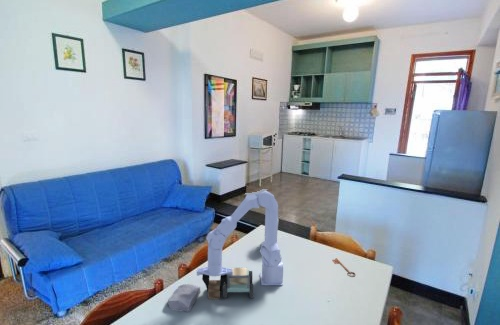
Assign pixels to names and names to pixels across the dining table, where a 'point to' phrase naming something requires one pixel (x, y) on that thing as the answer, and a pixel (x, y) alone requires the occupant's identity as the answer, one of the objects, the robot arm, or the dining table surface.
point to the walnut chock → (214, 289)
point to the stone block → (184, 297)
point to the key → (343, 266)
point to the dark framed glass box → (239, 282)
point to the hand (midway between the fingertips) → (214, 290)
